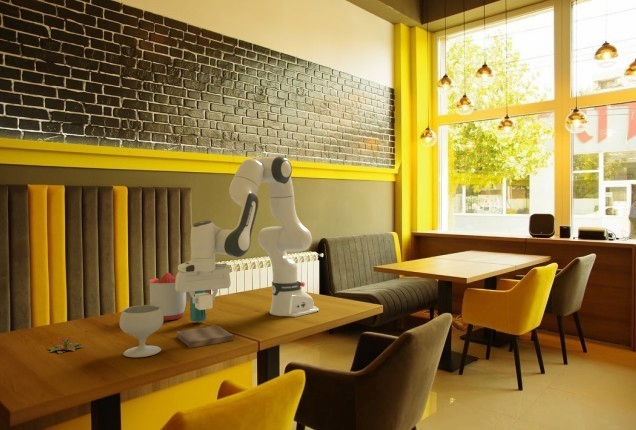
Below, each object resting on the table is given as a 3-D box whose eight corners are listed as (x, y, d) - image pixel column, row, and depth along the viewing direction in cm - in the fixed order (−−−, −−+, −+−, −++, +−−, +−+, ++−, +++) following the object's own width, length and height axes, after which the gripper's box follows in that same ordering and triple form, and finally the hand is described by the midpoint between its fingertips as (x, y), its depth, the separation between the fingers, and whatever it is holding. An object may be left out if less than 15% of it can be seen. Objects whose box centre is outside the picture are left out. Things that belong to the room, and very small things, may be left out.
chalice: (158, 343, 173) (157, 302, 173) (169, 354, 161) (168, 310, 161) (116, 350, 166) (115, 307, 165) (124, 362, 154) (123, 315, 153)
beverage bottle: (202, 325, 197) (201, 277, 197) (187, 324, 199) (186, 276, 198) (209, 321, 204) (208, 274, 203) (194, 320, 205) (193, 274, 204)
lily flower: (74, 342, 177) (73, 330, 177) (91, 348, 170) (91, 335, 170) (39, 351, 167) (39, 338, 167) (56, 357, 160) (56, 344, 160)
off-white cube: (208, 305, 182) (208, 292, 182) (212, 308, 178) (212, 294, 178) (195, 307, 179) (194, 294, 179) (199, 310, 175) (199, 296, 175)
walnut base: (217, 330, 190) (217, 325, 190) (233, 340, 177) (232, 335, 176) (177, 336, 182) (176, 331, 182) (189, 348, 168) (189, 342, 168)
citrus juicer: (179, 311, 223) (178, 268, 222) (192, 319, 209) (191, 272, 208) (144, 316, 214) (143, 271, 214) (155, 324, 200) (154, 276, 199)
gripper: (226, 262, 186) (227, 297, 187) (173, 266, 175) (174, 303, 176) (233, 263, 181) (233, 300, 181) (178, 268, 170) (178, 307, 170)
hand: (203, 302), depth 178 cm, fingers closed on off-white cube, 5 cm apart
